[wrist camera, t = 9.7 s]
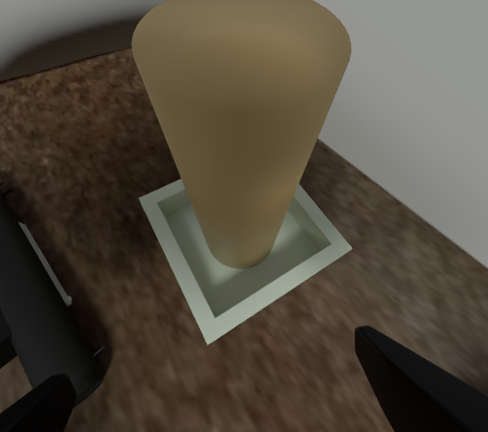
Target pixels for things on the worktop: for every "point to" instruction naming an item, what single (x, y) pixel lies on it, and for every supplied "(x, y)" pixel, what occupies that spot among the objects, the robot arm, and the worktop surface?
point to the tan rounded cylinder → (241, 107)
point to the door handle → (39, 314)
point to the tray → (239, 280)
